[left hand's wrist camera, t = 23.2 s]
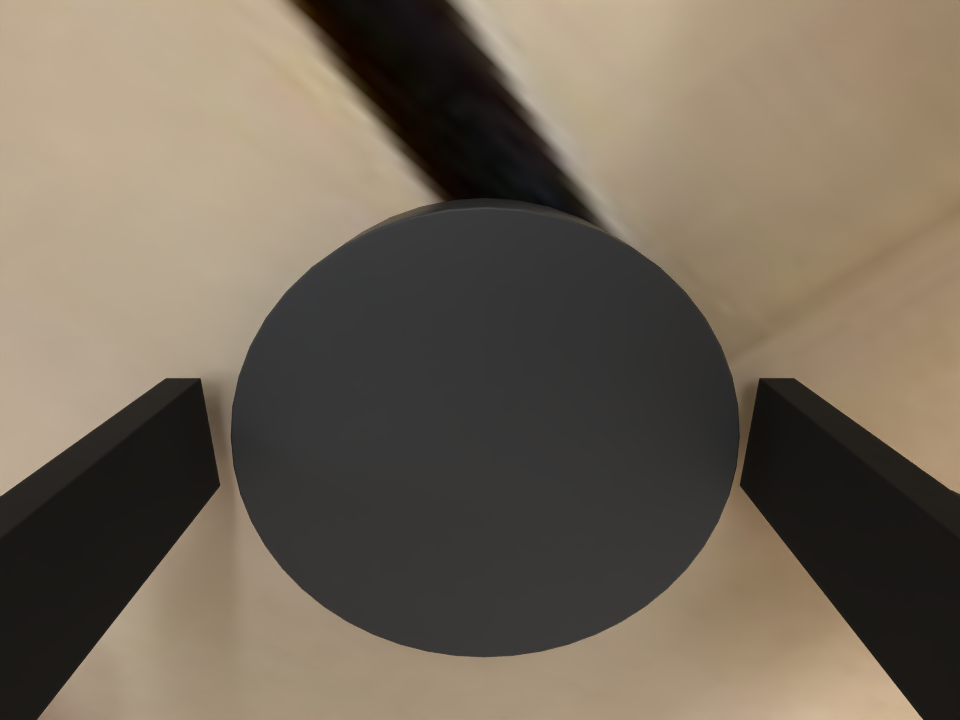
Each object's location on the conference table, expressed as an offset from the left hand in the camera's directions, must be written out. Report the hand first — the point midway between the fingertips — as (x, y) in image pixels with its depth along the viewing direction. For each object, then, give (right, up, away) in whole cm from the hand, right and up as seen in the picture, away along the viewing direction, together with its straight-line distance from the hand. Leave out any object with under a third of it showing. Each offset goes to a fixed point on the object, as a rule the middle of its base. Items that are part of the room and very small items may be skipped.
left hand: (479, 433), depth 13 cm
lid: (0, 0, -1) cm, 1 cm away
